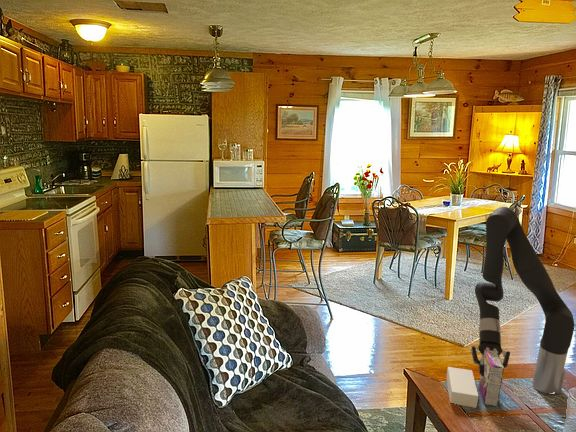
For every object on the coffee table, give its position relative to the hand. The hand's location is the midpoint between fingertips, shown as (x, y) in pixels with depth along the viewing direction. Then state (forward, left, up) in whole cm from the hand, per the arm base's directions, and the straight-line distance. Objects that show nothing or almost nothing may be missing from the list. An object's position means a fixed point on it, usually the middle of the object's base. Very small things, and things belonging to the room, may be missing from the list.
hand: (490, 377), depth 173 cm
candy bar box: (0, 0, -8) cm, 8 cm away
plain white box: (+10, 0, -8) cm, 13 cm away
